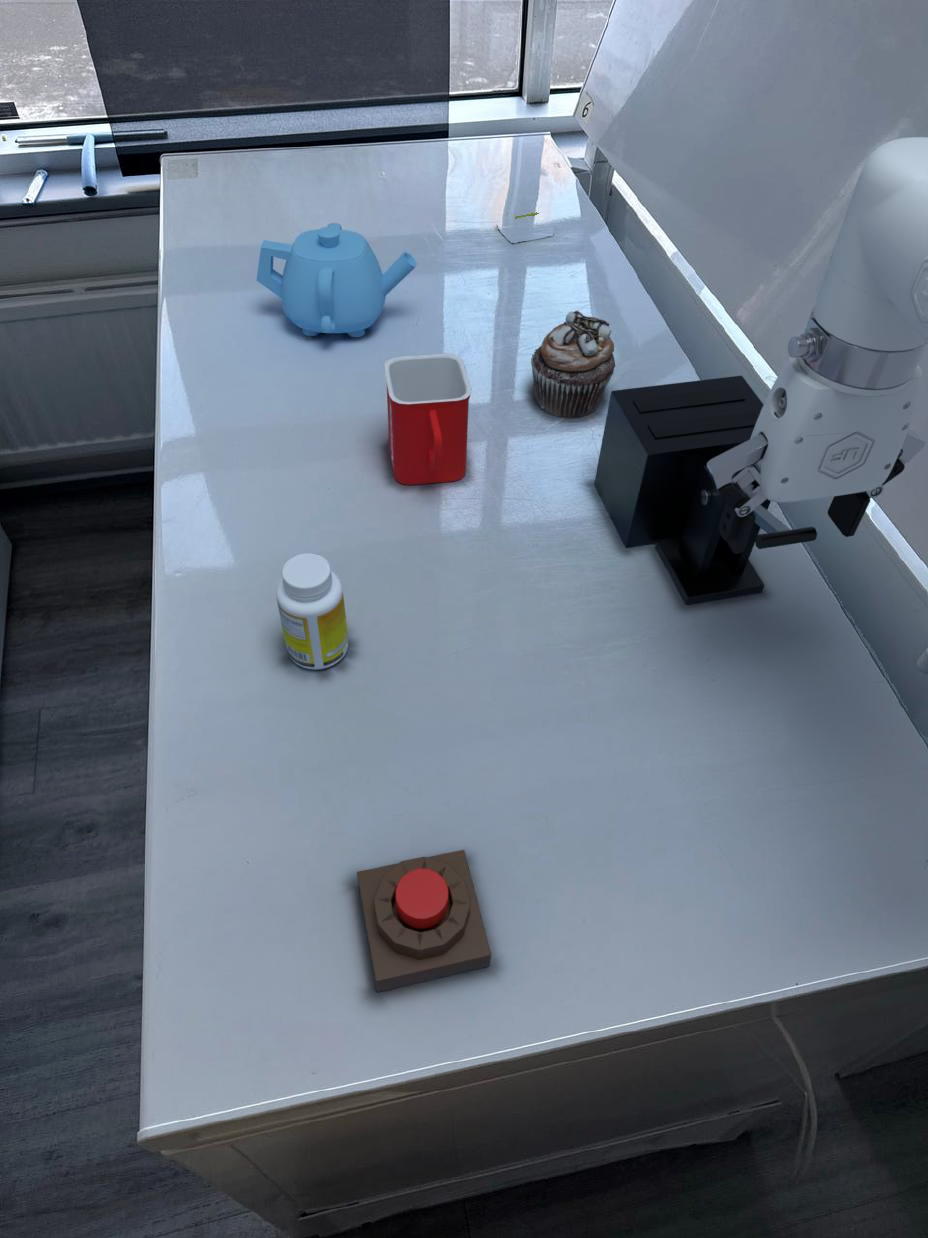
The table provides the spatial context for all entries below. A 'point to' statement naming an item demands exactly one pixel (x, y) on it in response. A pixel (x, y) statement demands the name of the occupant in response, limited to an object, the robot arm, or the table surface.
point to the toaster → (667, 450)
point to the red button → (421, 898)
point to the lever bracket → (709, 552)
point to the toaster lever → (777, 528)
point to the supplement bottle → (312, 612)
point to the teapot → (330, 280)
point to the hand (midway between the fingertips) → (785, 533)
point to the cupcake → (573, 366)
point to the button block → (422, 951)
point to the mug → (427, 417)
